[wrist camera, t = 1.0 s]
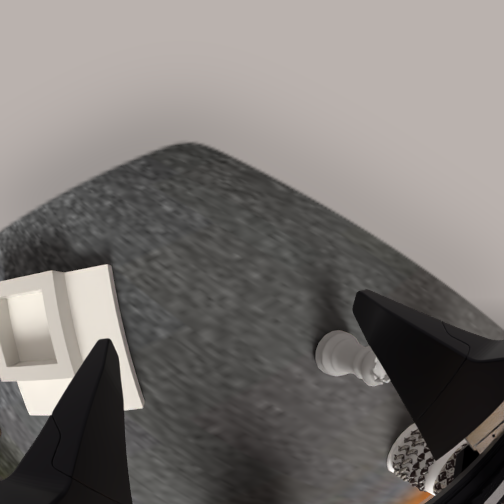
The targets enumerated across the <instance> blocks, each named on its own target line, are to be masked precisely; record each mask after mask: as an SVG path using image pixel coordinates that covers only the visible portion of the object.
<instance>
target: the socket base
mask: <svg viewBox="0 0 504 504" xmlns="http://www.w3.org/2000/svg"><path fill="white" fill-rule="evenodd" d="M105 338H109V339H111V341H112V343H113V345H114V347H115V349H116V352H117V354H118V357H119V363H120V373H121V383H122V391H123V399H124V410H132V409H140V408H143V407H144V403H145V400H144V398H143V395H142V391H141V388H140V385H139V382H138V379H137V376H136V372H135V369H134V365H133V362H132V358H131V355H130V351H129V347H128V343H127V339H126V335H125V331H124V327H123V323H122V318H121V314H120V309H119V304H118V299H117V294H116V289H115V283H114V278H113V272H112V266H111V265H108V264H105V265H100V266H95V267H90V268H85V269H80V270H75V271H70V272H65V273H63V272H58V271H53V270H51V271H46V272H42V273H37V274H32V275H28V276H23V277H19V278H14V279H9V280H5V281H1V282H0V377H1V380H2V381H17V382H18V385H19V388H20V391H21V394H22V397H23V400H24V402H25V405H26V407H27V410H28V412H29V415H52V412H53V410H54V408H55V406H56V405H57V403H58V401H59V400H60V398H61V396H62V395H63V393H64V392H65V390H66V388H67V387H68V385H69V383H70V382H71V380H72V379H73V377H74V376H75V374H76V372H77V371H78V369H79V368H80V366H81V365H82V363H83V362H84V360H85V359H86V357H87V356H88V354H89V353H90V351H91V350H92V348H93V347H94V345H95V344H96V342H97V341H98V340H99V339H105Z"/></svg>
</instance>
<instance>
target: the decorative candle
mask: <svg viewBox="0 0 504 504" xmlns="http://www.w3.org/2000/svg"><path fill="white" fill-rule="evenodd" d="M467 444H468V443H467V442H466V440H465V439H464V440H463V441H461V442H460V443H459V444H458V445H457V446H455V447H454V448H453V449H452V450H450V451H449V452H448V453H446V454H445V455H444V456H442V457H441V458H440V459H438V460H437V461H435V459H434V458H433V456H432V454H431V452H430V450H429V448H428V446H427V445H426V443H425V441H424V439H423V437H422V435H421V433H420V432H419V430H418V428H417V426H416V424H415V423H414V424H412V425H410V426H409V427H408V428H407V429H406V430H405V431H403V432H402V433H401V434H400V436H399V437H398V438H397V440H396V441H395V442H394V444H393V446H392V448H391V450H390V452H389V454H388V458H387V463H386V464H387V467H388V470H389V471H391V472H393V473H394V474H396V473H397V475H396V476H397V477H399V476H401V478H402V479H403V478H404V479H403V481H407V480H408V482H410V484H412V486H414V487H415V486H416V487H418V489H419V490H420V491H425V492H429V493H431V494H432V495H437V494H438V493H439V492H440V491H441V490H443V489H444V488H445V487H446V486H447V485H449V484H450V483H451V482H452V481H453V480H454V479H453V475H454V469H455V462H456V454H457V453H459V452H460V451H461V450H462V449H463V448H464V447H465V446H466V445H467ZM501 504H504V501H503V502H502V503H501Z"/></svg>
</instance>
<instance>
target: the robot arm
mask: <svg viewBox="0 0 504 504" xmlns="http://www.w3.org/2000/svg"><path fill="white" fill-rule="evenodd" d="M353 313H354V316H355V318H356V320H357V322H358V324H359V326H360V328H361V330H362V332H363V334H364V336H365V338H366V340H367V342H368V344H369V346H370V347H371V349H372V351H373V352H374V354H375V355H376V357H377V359H378V360H379V362H380V364H381V365H382V367H383V369H384V370H385V372H386V374H387V375H388V377H389V379H390V380H391V382H392V384H393V385H394V387H395V389H396V391H397V392H398V394H399V396H400V397H401V399H402V401H403V403H404V404H405V406H406V408H407V410H408V412H409V413H410V415H411V417H412V419H413V420H414V422H415V424H416V426H417V428H418V430H419V432H420V433H421V435H422V437H423V439H424V441H425V443H426V445H427V446H428V448H429V450H430V452H431V454H432V456H433V458H434V459H435V461H437V460H438V459H440V458H441V457H442V456H444V455H445V454H446V453H448V452H449V451H450V450H452V449H453V448H454V447H455V446H457V445H458V444H459V443H460V442H461V441H463V440H464V439H465V440H466V442H467V443H468V444H467V445H466V446H465V447H464V448H463V449H462V450H461V451H460V452H459V453H457V454H456V462H455V469H454V475H453V479H454V480H453V481H452V482H451V483H450V484H449V485H447V486H446V487H445V488H444V489H443V490H441V491H440V492H439V493H438V494H437V495H435V496H434V497H433V498H432V499H430V500H429V501H428V502H426V503H425V504H501V503H502V502H503V501H504V340H491V339H488V338H485V337H482V336H479V335H476V334H473V333H471V332H468V331H465V330H462V329H460V328H457V327H455V326H452V325H450V324H447V323H445V322H443V321H442V322H441V321H440V320H438V319H436V318H434V317H431V316H429V315H427V314H424V313H422V312H420V311H417V310H415V309H413V308H410V307H408V306H406V305H403V304H401V303H398V302H396V301H394V300H391V299H389V298H387V297H384V296H382V295H380V294H377V293H375V292H373V291H370V290H368V289H365V290H361V291H358V292H357V294H356V297H355V301H354V304H353ZM0 504H132V497H131V490H130V483H129V475H128V466H127V455H126V442H125V425H124V399H123V391H122V383H121V373H120V363H119V357H118V354H117V352H116V349H115V347H114V345H113V343H112V341H111V339H109V338H105V339H99V340H98V341H97V342H96V344H95V345H94V347H93V348H92V350H91V351H90V353H89V354H88V356H87V357H86V359H85V360H84V362H83V363H82V365H81V366H80V368H79V369H78V371H77V372H76V374H75V376H74V377H73V379H72V380H71V382H70V383H69V385H68V387H67V388H66V390H65V392H64V393H63V395H62V396H61V398H60V400H59V401H58V403H57V405H56V406H55V408H54V410H53V412H52V415H50V417H49V418H48V420H47V422H46V424H45V425H44V427H43V429H42V430H41V432H40V434H39V435H38V437H37V438H36V440H35V441H34V443H33V444H32V446H31V447H30V449H29V450H28V452H27V453H26V454H25V456H24V457H23V459H22V460H21V462H20V463H19V465H18V466H17V468H16V469H15V471H14V472H13V473H12V474H11V475H10V476H9V477H7V478H6V479H4V480H2V481H0Z"/></svg>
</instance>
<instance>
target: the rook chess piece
mask: <svg viewBox="0 0 504 504" xmlns="http://www.w3.org/2000/svg"><path fill="white" fill-rule="evenodd" d="M316 363H317V365H318V368H319V369H320V370H321V371H323V372H324V373H326V374H329V375H333V376H342V375H346V374H348V373H352V374H355V375H356V376H357V377H358V378H360V379H363V381H364V382H365V383H366V384H367V385H370V386H376V385H380V384H383V382H386V383H388V382H389V381H390V379H389V377H388V375H387V374H386V372H385V370H384V369H383V367H382V365H381V364H380V362H379V360H378V359H377V357H376V355H375V354H374V352H373V351H372V349H371V347H370V346H367V347H364V346H362V345H360V343H359V342H358V340H357V339H356V338H355V337H354V336H353V335H352V334H350V333H347V332H344V331H341V330H336V331H331V332H330V333H328V334H326V335H325V336H324V337H323V338H322V339H321V341H320V342H319V343H318V346H317V349H316Z"/></svg>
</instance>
